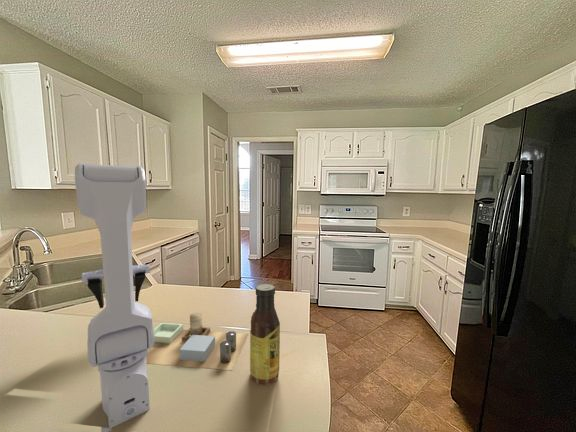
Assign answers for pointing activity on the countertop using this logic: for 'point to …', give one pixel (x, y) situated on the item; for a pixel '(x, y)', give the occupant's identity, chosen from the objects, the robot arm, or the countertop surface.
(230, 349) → the bench dogs
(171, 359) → the bench board
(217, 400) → the countertop surface
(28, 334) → the countertop surface
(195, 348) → the slate block
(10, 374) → the countertop surface
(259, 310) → the sauce bottle
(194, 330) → the beech dowel
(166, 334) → the sage tray
